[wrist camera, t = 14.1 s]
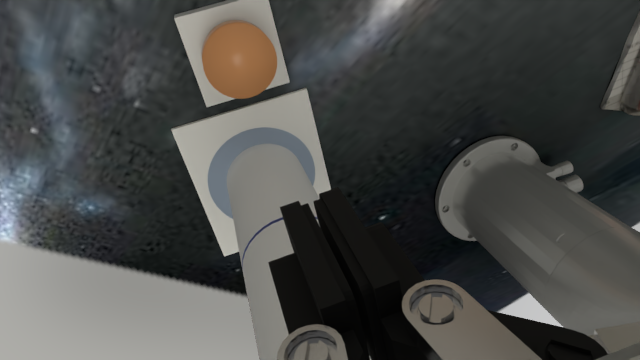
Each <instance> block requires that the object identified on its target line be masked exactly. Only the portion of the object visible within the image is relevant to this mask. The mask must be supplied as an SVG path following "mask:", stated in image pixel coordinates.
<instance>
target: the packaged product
mask: <svg viewBox="0 0 640 360" xmlns="http://www.w3.org/2000/svg"><path fill="white" fill-rule="evenodd" d="M600 107H601V108H602V109H609V110H620V111H623V112H625V113H627V114H630V115H634V116H636V115H639V116H640V11H639V13H638V16H637V18H636V20H635V22H634V25H633V27H632V29H631V31H630V33H629V35H628V38H627V41H626V43H625V45H624V48H623V51H622V54H621V57H620V60H619V62H618V64H617V67H616V69H615V72H614V75H613V78H612V80H611V82H610V84H609V87H608V89H607V91H606V93H605V95H604V98H603V100H602V103H601V105H600Z"/></svg>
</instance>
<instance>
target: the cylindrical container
mask: <svg viewBox="0 0 640 360" xmlns="http://www.w3.org/2000/svg"><path fill="white" fill-rule="evenodd" d="M227 189H228V194H229V200H230V205H231V210H232V215H233V220H234V226H235V231H236V237H237V242H238V248H239V253H240V259H241V264H242V269H243V275H244V280H245V285H246V290H247V296H248V301H249V306H250V311H251V316H252V322H253V327H254V332H255V337H256V343H257V348H258V353H259V359H260V360H277V353H278V350H279V348H280V346H281V344H282V342H283V341H284V340H285V339H286V337H287V336H288V335H289V334H288V330H287V327H286V323H285V320H284V316H283V313H282V309H281V306H280V302H279V299H278V295H277V292H276V288H275V285H274V281H273V278H272V274H271V271H270V267H269V263H268V262H270V261H273V260H276V259H278V258H281V257H284V256H287V255H290V254H292V253H294V251H293V248H292V245H291V242H290V239H289V235H288V232H287V229H286V226H285V223H284V220H283V217H282V213H281V210H280V207H282V206H284V205H287V204H290V203H293V202H296V201H299V202H300V204H301V205H304V204H307V203H308V204H309V206H310V208H311V210H312V212H313V214H314V216H315V218H316V220H317V222H318V218H317V214H316V210H315V207H314V201H315V200H318V199H320V198H319V197H318V195H317V193H316V191H315V189H314V187H313V186H312V184H311V182H310V180H309V178H308V176H307V174H306V173H305V171H304V169H303V167H302V165H301V163H300V162H299V160H298V158H297V157H296V156H295V155H294V154H293V153H292V152H291V151H290V150H288V149H287V148H285V147H282V146H280V145H276V144H259V145H255V146H252V147H250V148H247V149H246V150H244V151H243V152H241V153H240V154H239V155H238V156H237V157H236V158H235V159H234V160H233V162H232V163H231V165H230V167H229V169H228V173H227ZM318 224H319V222H318ZM319 226H320V225H319ZM369 357H370V356H369ZM370 360H371V358H370Z"/></svg>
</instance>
